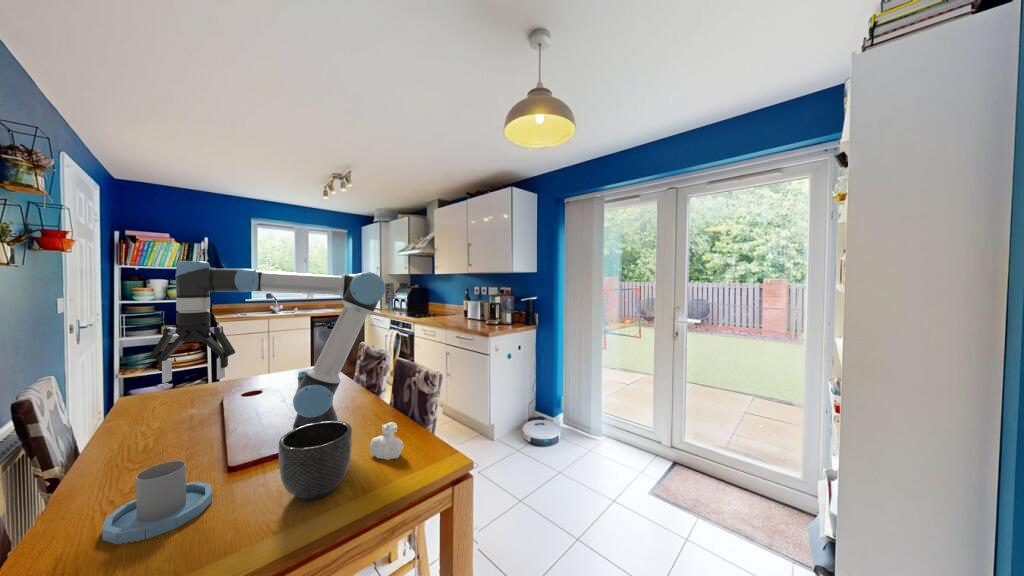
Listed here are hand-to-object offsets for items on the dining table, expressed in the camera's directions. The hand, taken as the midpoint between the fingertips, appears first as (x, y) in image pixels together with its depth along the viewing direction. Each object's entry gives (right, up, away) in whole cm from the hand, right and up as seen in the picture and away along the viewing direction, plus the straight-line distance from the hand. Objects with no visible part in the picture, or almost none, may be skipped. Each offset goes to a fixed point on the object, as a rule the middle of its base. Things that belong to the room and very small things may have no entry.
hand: (194, 379), depth 102 cm
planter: (+45, -28, -12) cm, 54 cm away
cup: (+12, -27, -21) cm, 36 cm away
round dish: (+12, -27, -21) cm, 36 cm away
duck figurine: (+57, -27, +8) cm, 64 cm away
